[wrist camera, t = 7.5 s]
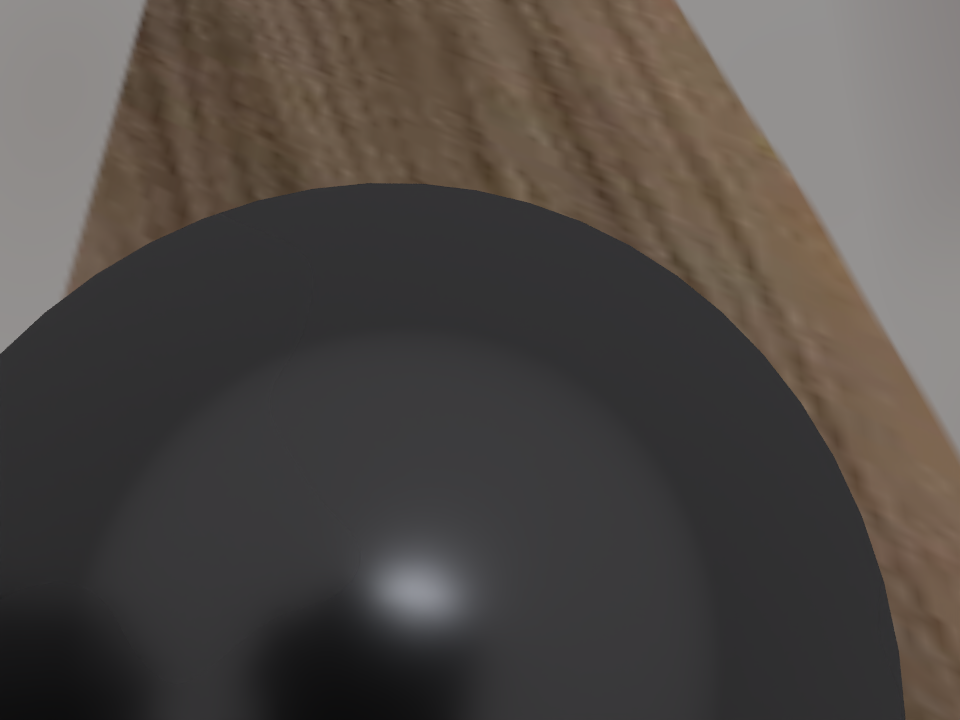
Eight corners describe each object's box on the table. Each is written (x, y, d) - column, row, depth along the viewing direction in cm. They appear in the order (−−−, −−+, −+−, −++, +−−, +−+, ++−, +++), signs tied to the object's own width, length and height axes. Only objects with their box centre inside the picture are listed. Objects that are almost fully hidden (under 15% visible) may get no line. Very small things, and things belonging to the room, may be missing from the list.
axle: (345, 724, 14) (-357, 1524, 2) (342, 532, 15) (-72, 203, 3) (532, 705, 14) (1076, 1272, 2) (512, 517, 15) (769, 165, 3)
